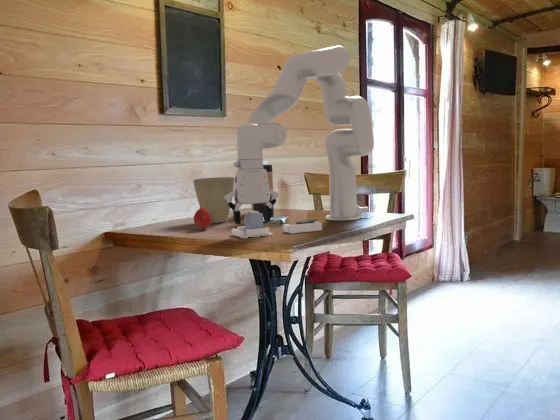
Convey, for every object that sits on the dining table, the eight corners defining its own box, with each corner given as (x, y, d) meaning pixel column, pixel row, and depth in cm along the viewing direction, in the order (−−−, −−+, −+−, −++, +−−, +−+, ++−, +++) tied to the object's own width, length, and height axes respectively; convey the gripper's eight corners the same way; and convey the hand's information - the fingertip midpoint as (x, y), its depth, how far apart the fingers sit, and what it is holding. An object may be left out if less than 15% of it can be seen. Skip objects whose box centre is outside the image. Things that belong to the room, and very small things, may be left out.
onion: (192, 229, 193) (191, 205, 192) (209, 227, 195) (207, 204, 194) (196, 231, 187) (195, 206, 186) (214, 229, 189) (212, 205, 189)
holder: (262, 232, 180) (261, 224, 180) (272, 235, 173) (272, 227, 173) (231, 235, 176) (231, 227, 176) (241, 238, 169) (241, 230, 169)
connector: (257, 231, 178) (256, 210, 177) (263, 233, 173) (262, 211, 173) (244, 232, 176) (244, 211, 176) (251, 234, 172) (250, 212, 171)
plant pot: (232, 218, 220) (230, 176, 218) (240, 222, 205) (238, 177, 204) (192, 221, 216) (190, 178, 214) (198, 225, 201) (195, 180, 200)
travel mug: (271, 221, 206) (269, 165, 204) (251, 221, 208) (248, 165, 206) (276, 218, 214) (274, 164, 212) (256, 218, 215) (254, 165, 213)
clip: (315, 228, 184) (315, 221, 184) (322, 230, 180) (321, 222, 180) (284, 231, 179) (284, 224, 179) (290, 233, 176) (289, 225, 175)
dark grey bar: (308, 228, 187) (308, 219, 187) (316, 228, 186) (316, 219, 185) (294, 232, 179) (294, 222, 179) (302, 232, 178) (302, 223, 178)
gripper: (227, 166, 166) (229, 226, 167) (282, 164, 173) (284, 221, 174) (218, 166, 172) (221, 223, 174) (272, 164, 179) (274, 219, 181)
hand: (252, 222), depth 174 cm, fingers open, 9 cm apart
